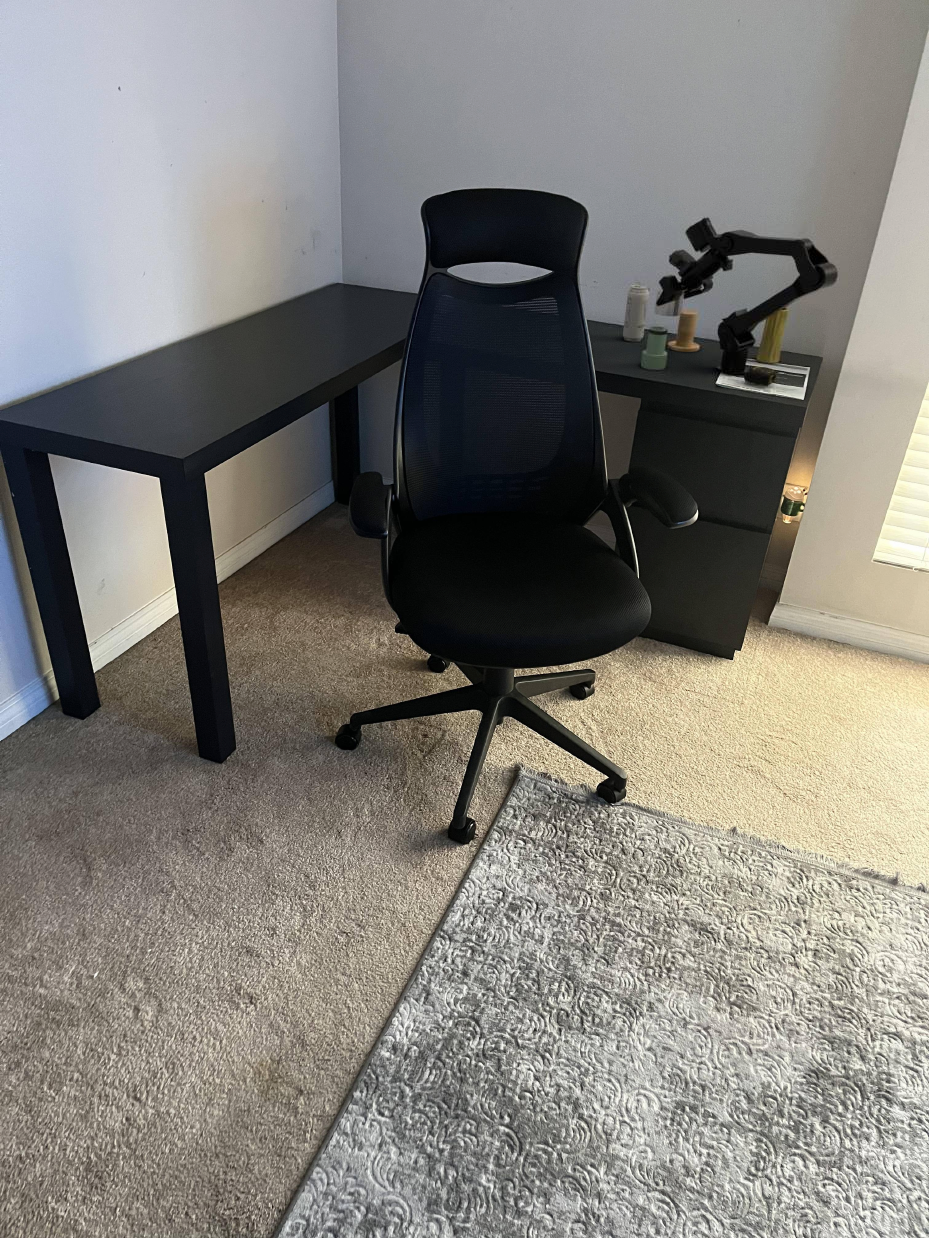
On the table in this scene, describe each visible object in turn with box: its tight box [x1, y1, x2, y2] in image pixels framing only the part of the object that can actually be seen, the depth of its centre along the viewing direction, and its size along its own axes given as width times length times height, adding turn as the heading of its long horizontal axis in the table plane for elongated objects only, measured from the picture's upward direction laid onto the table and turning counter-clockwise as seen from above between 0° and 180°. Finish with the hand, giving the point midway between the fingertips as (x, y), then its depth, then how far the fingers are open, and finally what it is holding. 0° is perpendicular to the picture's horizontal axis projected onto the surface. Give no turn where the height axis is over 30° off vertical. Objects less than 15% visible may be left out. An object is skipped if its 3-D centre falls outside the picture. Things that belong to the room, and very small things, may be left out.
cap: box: [654, 287, 685, 317], centre depth 242 cm, size 7×7×6 cm
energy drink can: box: [622, 284, 650, 342], centre depth 257 cm, size 6×6×15 cm
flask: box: [640, 326, 668, 371], centre depth 236 cm, size 7×7×10 cm
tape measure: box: [743, 366, 777, 387], centre depth 226 cm, size 7×7×4 cm
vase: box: [756, 307, 789, 364], centre depth 242 cm, size 6×6×14 cm
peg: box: [667, 309, 701, 353], centre depth 252 cm, size 9×9×10 cm
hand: (665, 302), depth 244 cm, fingers closed on cap, 7 cm apart
